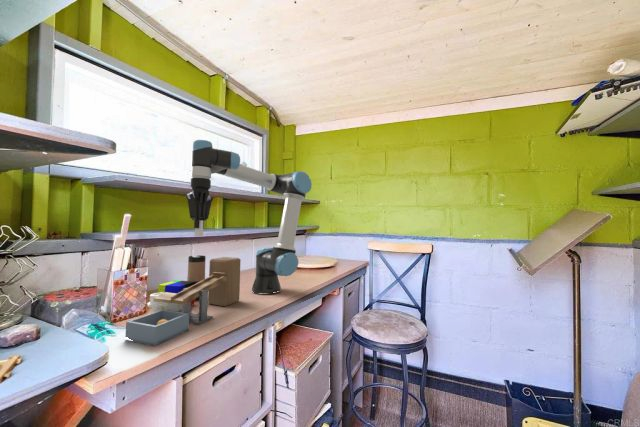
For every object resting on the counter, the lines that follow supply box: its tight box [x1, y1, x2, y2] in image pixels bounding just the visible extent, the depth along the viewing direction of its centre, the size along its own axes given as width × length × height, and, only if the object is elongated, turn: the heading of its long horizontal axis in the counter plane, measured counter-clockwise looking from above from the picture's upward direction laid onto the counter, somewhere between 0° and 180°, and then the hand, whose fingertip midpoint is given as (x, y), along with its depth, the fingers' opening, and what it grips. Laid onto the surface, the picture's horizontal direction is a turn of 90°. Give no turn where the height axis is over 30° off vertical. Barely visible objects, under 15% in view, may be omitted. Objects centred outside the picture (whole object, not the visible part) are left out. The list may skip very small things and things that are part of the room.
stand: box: [181, 287, 214, 326], centre depth 99 cm, size 7×11×11 cm, turn 72°
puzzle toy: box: [157, 279, 196, 312], centre depth 114 cm, size 10×10×10 cm
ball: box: [156, 319, 167, 325], centre depth 86 cm, size 4×4×4 cm
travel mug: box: [186, 255, 206, 301], centre depth 127 cm, size 8×8×20 cm
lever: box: [153, 272, 226, 305], centre depth 103 cm, size 22×14×3 cm, turn 162°
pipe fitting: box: [146, 292, 168, 313], centre depth 103 cm, size 6×7×8 cm
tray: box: [125, 310, 190, 347], centre depth 84 cm, size 13×12×6 cm
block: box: [208, 256, 242, 307], centre depth 121 cm, size 10×10×20 cm
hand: (198, 236), depth 107 cm, fingers closed
